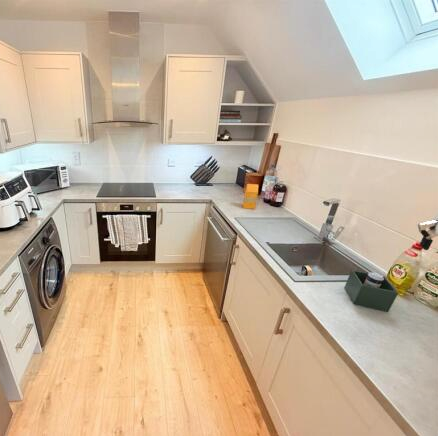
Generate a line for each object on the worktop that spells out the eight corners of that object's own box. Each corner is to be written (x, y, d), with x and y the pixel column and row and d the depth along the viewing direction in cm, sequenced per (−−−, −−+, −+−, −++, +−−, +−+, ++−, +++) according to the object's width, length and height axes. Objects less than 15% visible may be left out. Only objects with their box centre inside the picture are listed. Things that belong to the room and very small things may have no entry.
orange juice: (242, 205, 203) (246, 182, 195) (253, 206, 201) (257, 183, 193) (243, 208, 196) (247, 185, 188) (254, 209, 194) (259, 185, 186)
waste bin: (375, 294, 102) (384, 275, 98) (388, 312, 92) (398, 292, 89) (344, 287, 106) (351, 269, 102) (353, 304, 96) (361, 285, 92)
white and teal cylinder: (370, 295, 100) (382, 272, 95) (375, 303, 96) (387, 279, 91) (356, 292, 102) (367, 269, 97) (360, 299, 98) (371, 276, 93)
